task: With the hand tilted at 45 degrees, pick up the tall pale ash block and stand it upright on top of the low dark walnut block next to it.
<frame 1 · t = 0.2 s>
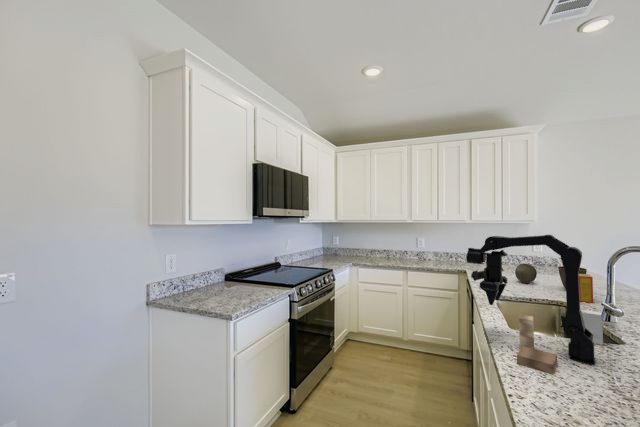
hand: (494, 302, 124), 15 cm above the worktop, tool pointing down, fingers open, 9 cm apart
walnut block: (537, 364, 102), on the worktop
plant pot: (572, 291, 200), on the worktop
ash block: (526, 348, 114), on the worktop
baking soda box: (584, 301, 177), on the worktop
skincare box: (592, 342, 119), on the worktop
cantaloupe: (526, 283, 226), on the worktop
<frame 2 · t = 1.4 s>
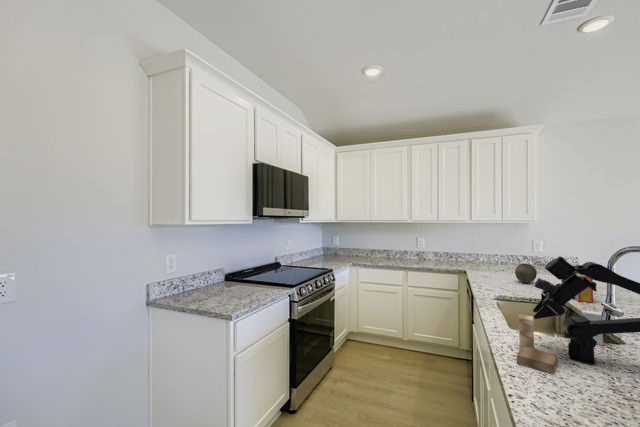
hand: (534, 314, 113), 13 cm above the worktop, tool tilted 45°, fingers open, 9 cm apart
nothing on the worktop moved.
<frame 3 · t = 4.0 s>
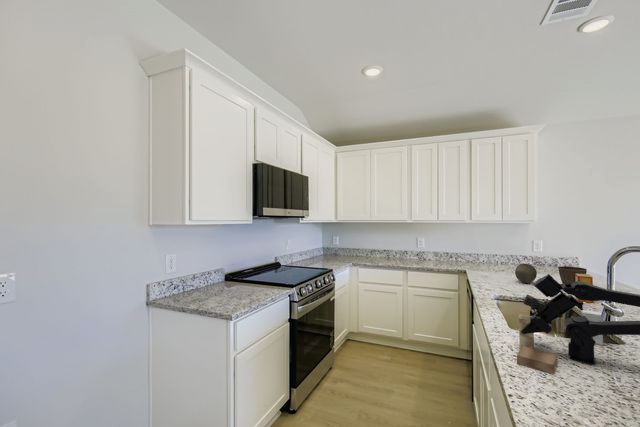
hand: (522, 330, 115), 7 cm above the worktop, tool tilted 45°, fingers closed on ash block, 5 cm apart
ash block: (526, 348, 114), on the worktop, touching gripper
everything else where it was.
when the fingers open (11 cm above the worktop, at t = 7.7 s): ash block drops 2 cm, resting on walnut block.
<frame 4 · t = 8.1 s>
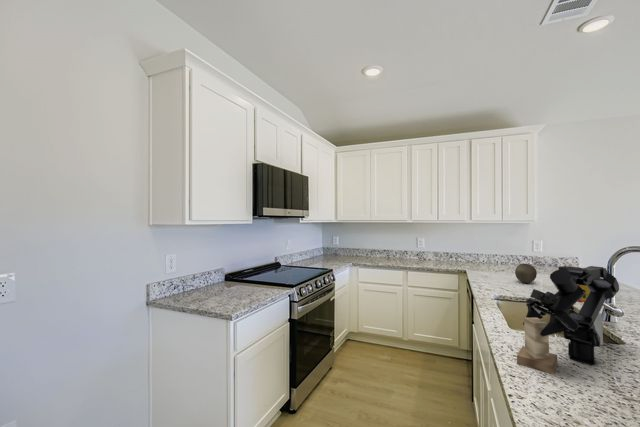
hand: (532, 330, 102), 12 cm above the worktop, tool tilted 45°, fingers open, 9 cm apart
walnut block: (537, 365, 102), on the worktop, touching ash block
ash block: (536, 354, 102), point 3 cm above the worktop, touching walnut block
everything else where it was.
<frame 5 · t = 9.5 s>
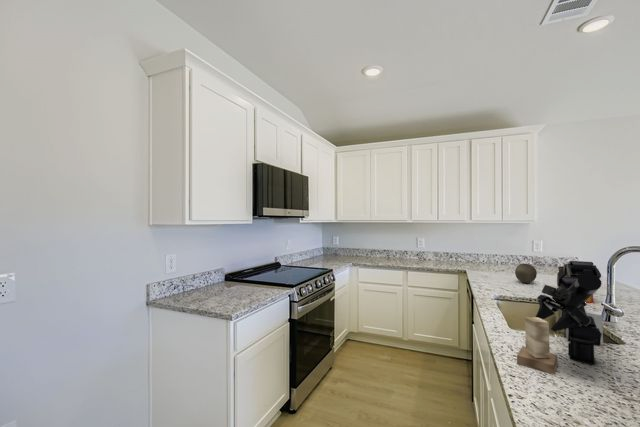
hand: (543, 325, 102), 13 cm above the worktop, tool tilted 45°, fingers open, 9 cm apart
walnut block: (537, 365, 102), on the worktop
ash block: (537, 354, 102), point 3 cm above the worktop
everything else where it was.
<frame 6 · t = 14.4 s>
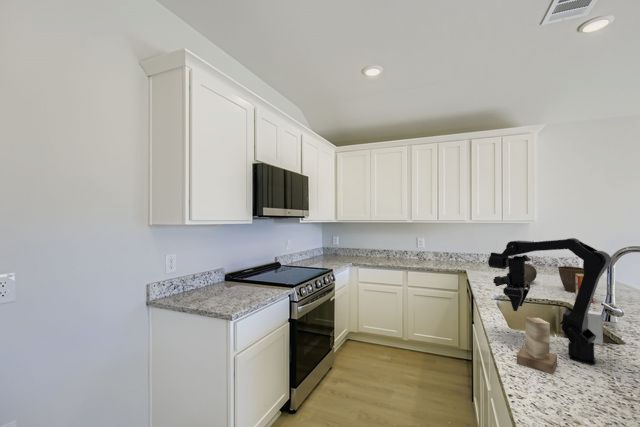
hand: (517, 308, 122), 13 cm above the worktop, tool pointing down, fingers open, 9 cm apart
nothing on the worktop moved.
at the end: ash block inside the target area on the walnut block (0.4 cm from its centre), point 3.6 cm above the walnut block's base; ash block tilted 2°; the gripper is holding nothing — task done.
